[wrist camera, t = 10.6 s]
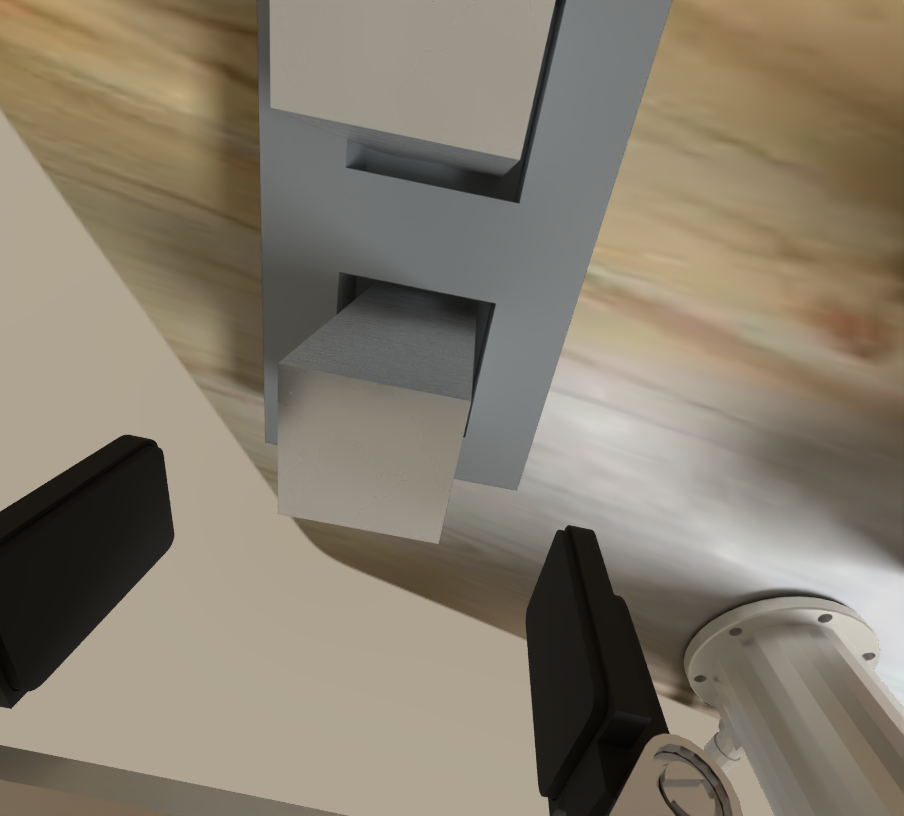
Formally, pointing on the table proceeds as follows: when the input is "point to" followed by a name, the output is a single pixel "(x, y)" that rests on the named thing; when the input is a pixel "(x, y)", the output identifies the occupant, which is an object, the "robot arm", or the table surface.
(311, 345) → the loose billet
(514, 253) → the tray
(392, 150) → the block
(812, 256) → the table surface
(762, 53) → the table surface
